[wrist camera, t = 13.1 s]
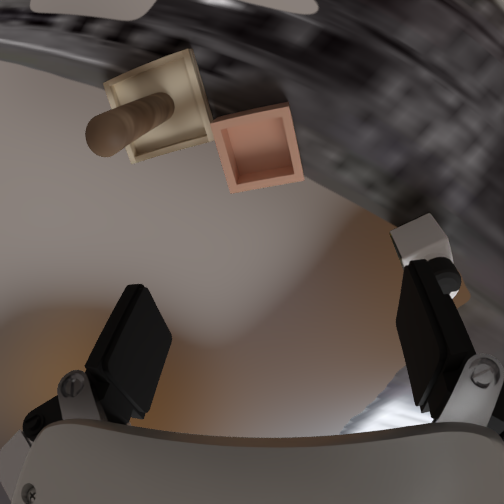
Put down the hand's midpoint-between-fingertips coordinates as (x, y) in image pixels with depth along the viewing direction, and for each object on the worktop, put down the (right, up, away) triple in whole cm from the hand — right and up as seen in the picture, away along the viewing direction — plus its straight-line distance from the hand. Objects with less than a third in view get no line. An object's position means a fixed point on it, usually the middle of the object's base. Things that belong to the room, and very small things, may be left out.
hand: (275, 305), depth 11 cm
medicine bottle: (+24, +4, +33) cm, 41 cm away
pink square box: (0, +15, +27) cm, 31 cm away
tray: (-12, +20, +25) cm, 35 cm away
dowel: (-12, +20, +24) cm, 34 cm away
